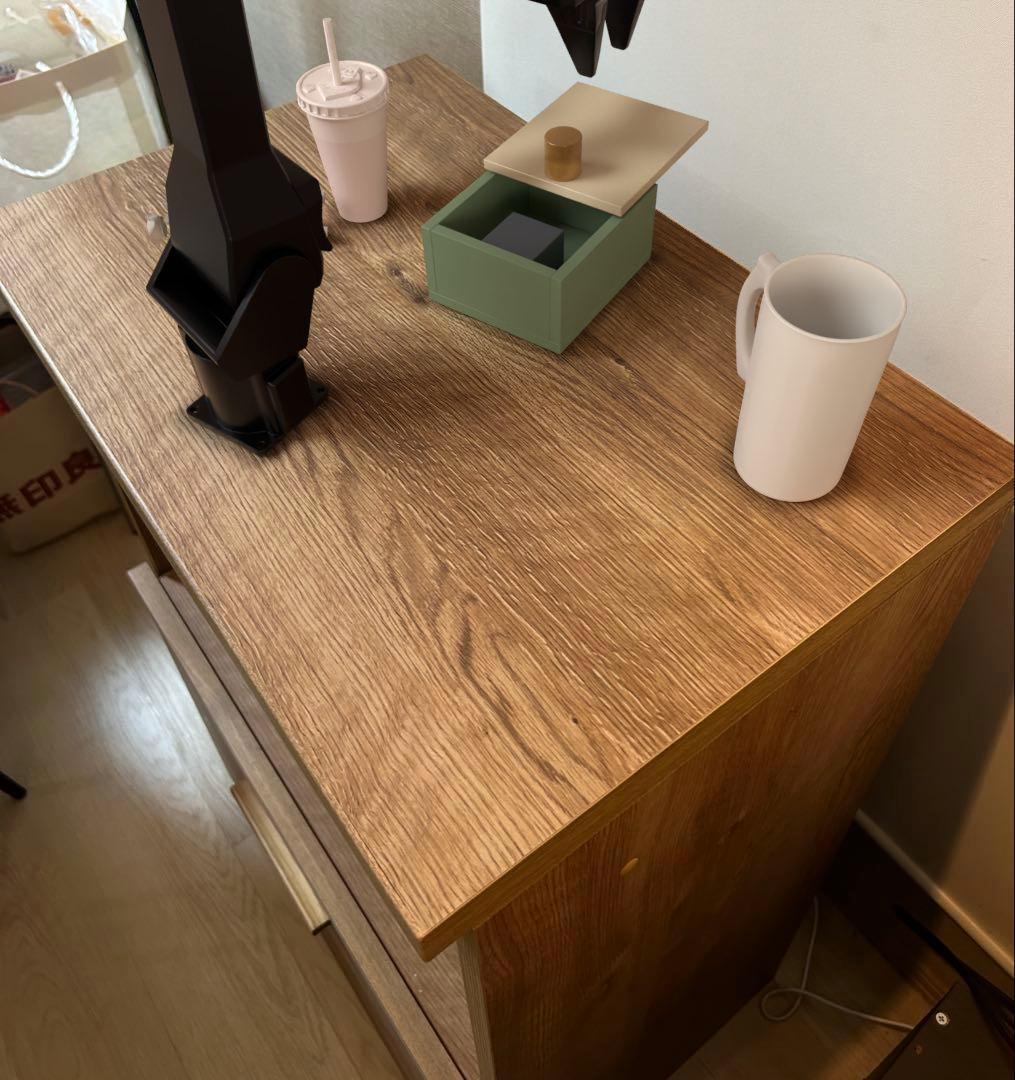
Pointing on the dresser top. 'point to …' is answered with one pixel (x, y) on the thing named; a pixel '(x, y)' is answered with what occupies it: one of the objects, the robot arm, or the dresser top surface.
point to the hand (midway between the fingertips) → (603, 61)
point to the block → (529, 240)
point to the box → (524, 285)
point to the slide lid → (597, 147)
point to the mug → (809, 367)
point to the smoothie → (349, 130)
